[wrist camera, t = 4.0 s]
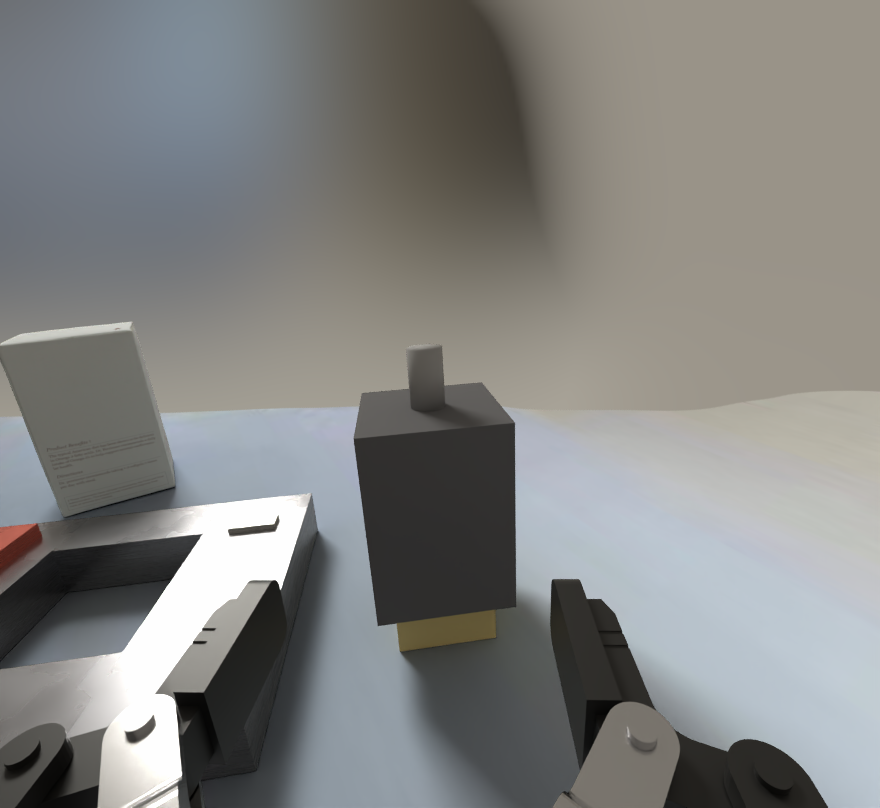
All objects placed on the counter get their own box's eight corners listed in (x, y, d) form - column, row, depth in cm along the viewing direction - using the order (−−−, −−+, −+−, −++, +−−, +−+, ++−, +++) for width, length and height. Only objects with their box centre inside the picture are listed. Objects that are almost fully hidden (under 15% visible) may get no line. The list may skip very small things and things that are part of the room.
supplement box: (174, 457, 40) (136, 319, 37) (177, 488, 34) (132, 327, 30) (74, 481, 37) (20, 331, 33) (57, 520, 31) (-11, 343, 27)
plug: (383, 668, 18) (344, 369, 14) (383, 576, 23) (356, 341, 19) (516, 648, 18) (514, 355, 15) (487, 563, 24) (479, 331, 20)
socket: (-378, 876, 13) (-459, 798, 12) (10, 565, 26) (-11, 516, 25) (255, 770, 14) (235, 694, 13) (317, 529, 28) (309, 481, 27)
